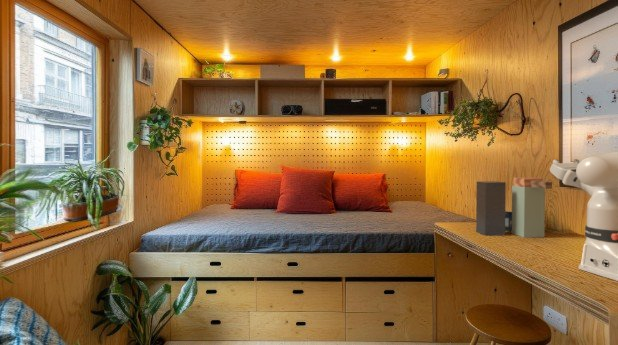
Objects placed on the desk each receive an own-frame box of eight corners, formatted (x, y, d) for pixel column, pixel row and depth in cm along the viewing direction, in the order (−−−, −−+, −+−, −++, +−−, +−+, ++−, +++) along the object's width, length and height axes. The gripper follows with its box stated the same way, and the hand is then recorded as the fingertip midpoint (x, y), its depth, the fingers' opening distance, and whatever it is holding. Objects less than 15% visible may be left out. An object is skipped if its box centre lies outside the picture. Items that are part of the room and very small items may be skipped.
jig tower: (505, 235, 173) (505, 182, 172) (485, 235, 173) (485, 182, 172) (495, 231, 182) (495, 181, 181) (476, 231, 181) (476, 181, 180)
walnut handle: (558, 188, 158) (558, 179, 158) (539, 188, 157) (539, 179, 157) (531, 185, 176) (531, 177, 176) (513, 185, 175) (513, 177, 175)
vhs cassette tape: (481, 228, 191) (481, 209, 191) (483, 227, 193) (483, 209, 193) (520, 232, 178) (520, 213, 178) (521, 232, 181) (521, 212, 180)
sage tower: (544, 237, 168) (545, 186, 167) (523, 237, 167) (524, 187, 167) (530, 232, 177) (531, 185, 176) (511, 233, 177) (512, 185, 176)
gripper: (615, 170, 143) (590, 154, 155) (566, 171, 142) (545, 154, 154) (608, 183, 146) (584, 166, 158) (560, 184, 145) (540, 167, 157)
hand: (565, 160), depth 156 cm, fingers open, 8 cm apart
